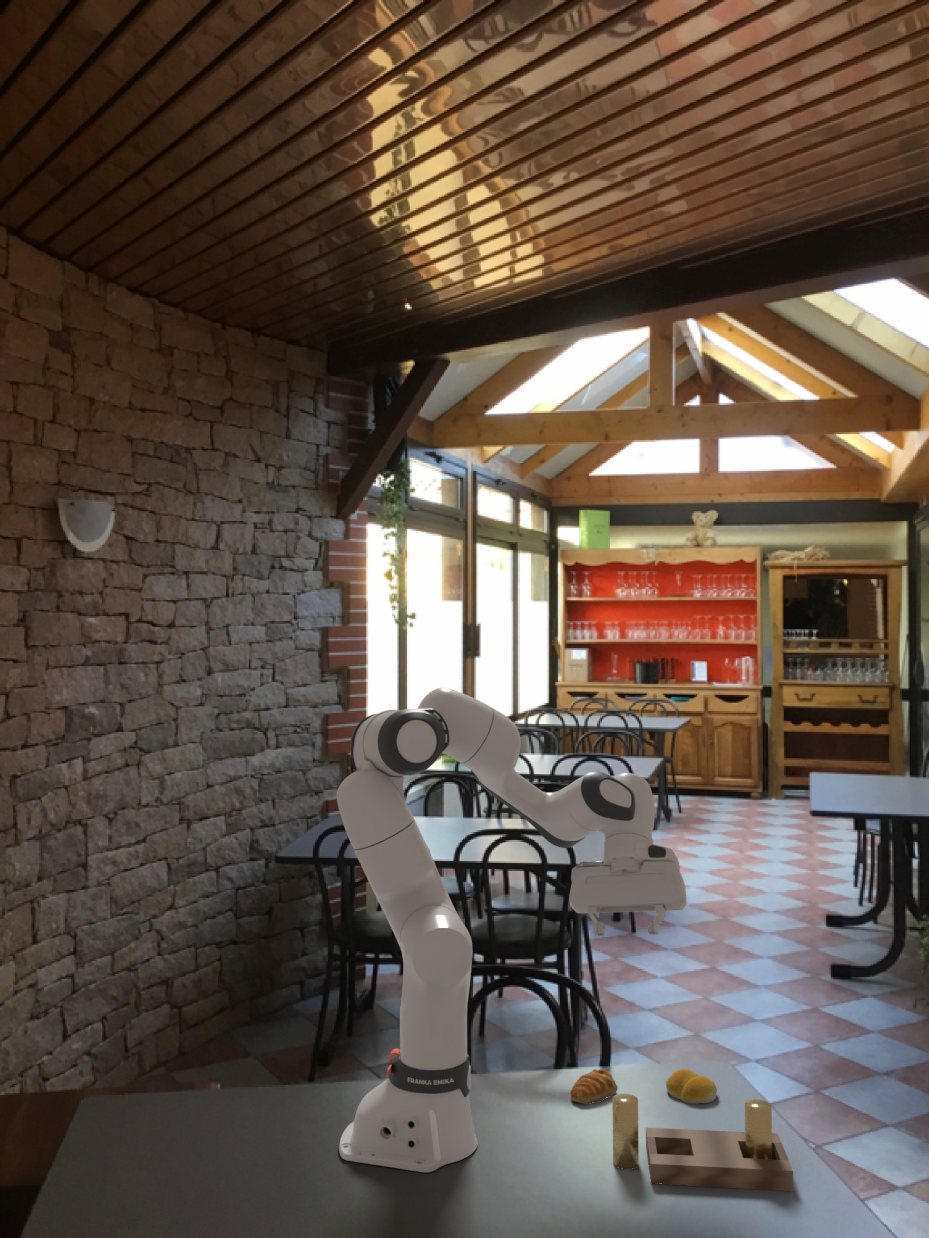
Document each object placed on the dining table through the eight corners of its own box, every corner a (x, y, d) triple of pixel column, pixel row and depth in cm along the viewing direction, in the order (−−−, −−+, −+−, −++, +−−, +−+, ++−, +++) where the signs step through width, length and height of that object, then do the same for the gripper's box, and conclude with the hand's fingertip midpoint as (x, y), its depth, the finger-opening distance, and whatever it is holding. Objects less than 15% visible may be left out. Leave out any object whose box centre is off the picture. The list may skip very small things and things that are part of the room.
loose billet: (613, 1168, 162) (612, 1104, 162) (612, 1156, 166) (612, 1093, 166) (639, 1170, 161) (638, 1105, 162) (637, 1157, 165) (637, 1094, 166)
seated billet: (747, 1175, 159) (747, 1109, 160) (743, 1162, 163) (742, 1098, 164) (774, 1177, 159) (773, 1110, 159) (769, 1164, 163) (768, 1099, 163)
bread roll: (699, 1110, 183) (699, 1087, 183) (659, 1093, 189) (658, 1071, 190) (727, 1096, 188) (727, 1074, 188) (687, 1081, 195) (686, 1059, 195)
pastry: (592, 1111, 183) (592, 1089, 183) (560, 1100, 187) (560, 1079, 187) (620, 1093, 190) (619, 1072, 190) (589, 1083, 194) (588, 1063, 194)
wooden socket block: (650, 1183, 157) (650, 1163, 157) (645, 1146, 169) (645, 1127, 169) (793, 1191, 155) (793, 1170, 155) (778, 1152, 167) (777, 1133, 167)
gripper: (567, 854, 186) (561, 927, 178) (681, 848, 179) (681, 924, 170) (577, 870, 191) (572, 942, 182) (688, 865, 184) (688, 940, 175)
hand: (625, 933), depth 176 cm, fingers open, 8 cm apart
